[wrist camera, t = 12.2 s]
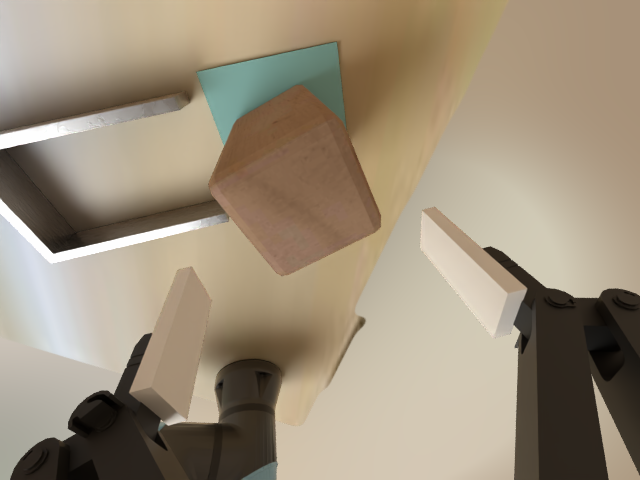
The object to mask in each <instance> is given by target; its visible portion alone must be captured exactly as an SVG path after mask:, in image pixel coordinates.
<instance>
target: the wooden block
mask: <svg viewBox="0 0 640 480" xmlns="http://www.w3.org/2000/svg"><path fill="white" fill-rule="evenodd" d="M208 185H209V188H210V191H211V194H212V196H213V197H214V198H215V199H216V200H217V202H218V203H219V204H220V205H221V206H222V208H223V209H224V210H225V211H226V213H227V214H228V215H229V216H230V217H231V219H232V220H233V221H234V222H235V223H236V225H237V226H238V227H239V228H240V229H241V231H242V232H243V233H244V234H245V236H246V237H247V238H248V239H249V240H250V242H251V243H252V244H253V245H254V246H255V248H256V249H257V250H258V251H259V252H260V254H261V255H262V256H263V257H264V258H265V260H266V261H267V262H268V263H269V265H270V266H271V267H272V268H273V269H274V271H275V272H276V273H277V274H279V275H281V276H284V275H289V274H291V273H293V272H295V271H297V270H299V269H301V268H303V267H305V266H307V265H309V264H311V263H313V262H316V261H318V260H320V259H322V258H324V257H326V256H328V255H330V254H332V253H334V252H336V251H338V250H340V249H342V248H344V247H346V246H348V245H350V244H352V243H354V242H356V241H358V240H360V239H362V238H364V237H367V236H369V235H371V234H373V233H375V232H376V231H377V230H378V229H379V228H380V227H381V215H380V212H379V210H378V207H377V205H376V202H375V200H374V197H373V195H372V192H371V190H370V187H369V185H368V183H367V180H366V178H365V175H364V173H363V170H362V168H361V165H360V163H359V160H358V158H357V155H356V153H355V150H354V148H353V146H352V143H351V141H350V138H349V136H348V133H347V131H346V128H345V126H344V123H343V121H342V120H341V119H340V118H339V117H338V116H337V115H336V114H335V113H333V112H332V111H331V110H330V109H329V108H328V107H327V106H326V105H324V104H323V103H322V102H321V101H320V100H319V99H318V98H317V97H315V96H314V95H313V94H312V93H311V92H310V91H309V90H308V89H307V88H305V87H304V86H303V85H295V86H293V87H291V88H290V89H288V90H286V91H285V92H283V93H281V94H279V95H278V96H276V97H274V98H273V99H271V100H269V101H268V102H266V103H264V104H262V105H261V106H259V107H257V108H256V109H254V110H252V111H251V112H249V113H247V114H245V115H244V116H242V117H240V118H239V119H237V120H236V121H235V123H234V124H233V126H232V129H231V131H230V134H229V136H228V138H227V141H226V143H225V145H224V148H223V150H222V153H221V155H220V157H219V160H218V162H217V164H216V167H215V169H214V172H213V174H212V176H211V179H210V181H209V183H208Z"/></svg>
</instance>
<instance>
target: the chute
mask: <svg viewBox="0 0 640 480" xmlns="http://www.w3.org/2000/svg"><path fill="white" fill-rule="evenodd" d="M189 103H190V101H189V98H188V96H187V93H186V91H184V92H179V93H175V94H170V95H165V96H161V97H156V98H152V99H147V100H142V101H138V102H133V103H129V104H124V105H119V106H115V107H110V108H106V109H101V110H96V111H92V112H87V113H83V114H78V115H73V116H69V117H64V118H60V119H55V120H50V121H46V122H41V123H37V124H32V125H27V126H23V127H18V128H14V129H9V130H4V131H0V213H1V214H2V215H3V216H4V217H5V218H6V219H7V220H8V221H9V222H10V223H11V224H12V225H13V226H14V227H15V228H16V229H17V230H18V231H19V232H20V233H21V234H22V235H23V236H24V237H25V238H26V239H27V240H28V241H29V242H30V243H31V244H32V245H33V246H34V247H35V248H36V249H37V250H38V251H39V252H40V253H41V254H42V255H43V256H44V257H45V258H46V259H47V260H48V261H49V262H50V263H55V262H59V261H63V260H68V259H72V258H76V257H80V256H85V255H89V254H93V253H97V252H101V251H106V250H110V249H114V248H118V247H123V246H127V245H131V244H135V243H140V242H144V241H148V240H152V239H157V238H161V237H165V236H169V235H174V234H178V233H182V232H186V231H191V230H195V229H199V228H203V227H208V226H212V225H216V224H220V223H225V222H228V221H229V215H228V214H227V213H226V211H225V210H224V209H223V208H222V206H221V205H220V204H219V203H218V202H217V200H214V201H210V202H206V203H201V204H197V205H193V206H188V207H184V208H180V209H175V210H171V211H167V212H163V213H158V214H154V215H150V216H145V217H141V218H137V219H132V220H128V221H124V222H119V223H115V224H111V225H107V226H102V227H98V228H94V229H89V230H85V231H81V232H76V233H75V232H74V230H73V229H72V228H71V227H70V226H69V224H68V223H67V222H66V221H65V220H64V219H63V217H62V216H61V215H60V214H59V213H58V212H57V210H56V209H55V208H54V207H53V206H52V205H51V203H50V202H49V201H48V200H47V199H46V197H45V196H44V195H43V194H42V193H41V192H40V190H39V189H38V188H37V187H36V186H35V185H34V183H33V182H32V181H31V180H30V179H29V178H28V176H27V175H26V174H25V173H24V172H23V170H22V169H21V168H20V167H19V166H18V165H17V163H16V162H15V161H14V160H13V159H12V158H11V156H10V155H9V154H8V153H7V152H6V151H5V149H4V148H9V147H13V146H18V145H22V144H27V143H31V142H36V141H41V140H45V139H50V138H54V137H59V136H63V135H68V134H72V133H77V132H81V131H86V130H91V129H95V128H100V127H104V126H109V125H113V124H118V123H122V122H127V121H132V120H136V119H141V118H145V117H150V116H154V115H159V114H163V113H168V112H173V111H177V110H180V109H182V108H183V107H185V106H186V105H187V104H189Z"/></svg>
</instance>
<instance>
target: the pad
mask: <svg viewBox="0 0 640 480" xmlns="http://www.w3.org/2000/svg"><path fill="white" fill-rule="evenodd" d="M196 73H197V75H198V78H199V81H200V83H201V86H202V89H203V91H204V94H205V97H206V99H207V102H208V104H209V107H210V110H211V112H212V115H213V118H214V120H215V123H216V126H217V128H218V131H219V134H220V136H221V139H222V142H223V144H224V145H225V143H226V141H227V138H228V136H229V134H230V131H231V129H232V126H233V124H234V123H235V121H236V120H237V119H239V118H240V117H242V116H244V115H245V114H247V113H249V112H251V111H252V110H254V109H256V108H257V107H259V106H261V105H262V104H264V103H266V102H268V101H269V100H271V99H273V98H274V97H276V96H278V95H279V94H281V93H283V92H285V91H286V90H288V89H290V88H291V87H293V86H295V85H303V86H304V87H305V88H307V89H308V90H309V91H310V92H311V93H312V94H313V95H314V96H315V97H317V98H318V99H319V100H320V101H321V102H322V103H323V104H324V105H326V106H327V107H328V108H329V109H330V110H331V111H332V112H333V113H335V114H336V115H337V116H338V117H339V118H340V119H341V120H342V121H343V123H344V126H345V128H346V120H345V111H344V102H343V93H342V84H341V75H340V66H339V57H338V48H337V42H333V43H329V44H324V45H319V46H315V47H310V48H305V49H301V50H296V51H291V52H287V53H282V54H277V55H273V56H268V57H263V58H259V59H254V60H250V61H245V62H240V63H236V64H231V65H226V66H222V67H217V68H212V69H208V70H203V71H198V72H196ZM346 131H347V129H346Z"/></svg>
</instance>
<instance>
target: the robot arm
mask: <svg viewBox="0 0 640 480" xmlns="http://www.w3.org/2000/svg"><path fill="white" fill-rule="evenodd" d="M420 249H421V250H422V251H423V252H424V253H425V255H426V256H427V257H428V258H429V260H430V261H431V262H432V264H433V265H434V266H435V267H436V268H437V270H438V271H439V272H440V273H441V275H442V276H443V277H444V278H445V280H447V282H448V283H449V284H450V286H451V287H452V288H453V289H454V291H455V292H456V293H457V294H458V295H459V297H460V298H461V299H462V300H463V301H464V303H465V304H466V305H467V307H468V308H469V309H470V310H471V311H472V313H473V314H474V315H475V316H476V317H477V319H478V320H479V321H480V322H481V324H482V325H483V326H484V327H485V329H486V330H487V331H488V332H489V334H490V335H491V336H492V337H493V338H496V337H500V336H504V335H508V334H511V331H512V328H513V325H515V327H516V328H517V329H518V330H519V331H520V335H519V337H518V340H517V342H516V345H515V348H519V349H518V350H519V351H518V380H517V410H516V412H517V413H516V443H515V474H514V480H609V479H608V473H607V467H606V461H605V455H604V449H603V443H602V437H601V431H600V424H599V418H598V412H597V406H596V400H595V394H594V388H593V381H592V376H593V378H594V381H595V382H596V385H597V387H598V389H599V391H600V393H601V395H602V397H603V399H604V401H605V404H606V405H607V408H608V410H609V412H610V414H611V416H612V418H613V420H614V422H615V424H616V427H617V429H618V431H619V432H620V435H621V437H622V439H623V441H624V443H625V445H626V448H627V450H628V451H629V454H630V456H631V458H632V460H633V462H634V464H635V466H636V468H637V471H638V472H639V475H640V296H639V295H637V294H636V293H632V292H630V291H627V290H622V289H607V290H604V291H603V292H602V293H601V295H600V297H599V298H574V297H573V296H571V295H569V294H568V293H566V292H563V291H560V290H557V289H550V288H546V287H544V286H543V285H542V284H541V283H540V282H538V281H537V280H536V279H535V278H533V277H532V276H531V275H530V274H528V273H527V272H526V271H525V270H524V269H523V268H521V267H520V266H518V264H516V263H515V262H514V261H513V260H511V259H510V258H509V257H508V256H507V255H505V254H504V253H503V252H502V251H499V250H497V249H495V248H492V247H486V248H481V247H480V246H479V245H477V244H476V243H475V242H474V241H473V240H472V239H471V238H470V237H468V236H467V235H466V234H465V233H464V232H463V231H461V229H459V228H458V227H457V226H456V225H455V224H453V222H451V221H450V220H449V219H448V218H447V217H446V216H445V215H443V214H442V213H441V212H440V211H439V210H438V209H437V208H436V207H433V208H428V209H425V210H422V219H421V240H420ZM211 302H212V300H211V298H210V297H209V295H208V293H207V291H206V290H205V288H204V286H203V285H202V283H201V281H200V280H199V278H198V276H197V275H196V273H195V271H194V270H193V268H192V267H187V268H183V269H179V270H177V273H176V275H175V278H174V281H173V283H172V286H171V288H170V291H169V293H168V296H167V298H166V301H165V303H164V306H163V308H162V311H161V313H160V316H159V318H158V321H157V323H156V326H155V328H154V331H153V333H150V334H146V335H144V336H143V337H142V338H141V339H140V341H139V342H138V343H137V344H136V346H135V348H134V350H133V352H132V355H131V359H129V361H128V364H127V368H125V370H124V373H123V375H122V377H121V380H120V382H119V384H118V387H117V389H116V391H115V393H114V395H113V394H111V393H110V392H109V391H99V392H96V393H94V394H92V395H90V396H89V397H87V398H86V399H85V400H84V401H83V402H82V403H80V404H79V405H78V406H77V408H76V409H75V410H74V412H73V413H72V415H71V417H70V419H69V421H68V429H69V430H71V431H73V432H75V433H76V434H75V435H73V436H71V437H70V438H68V439H66V440H64V441H60V440H58V439H56V438H47V439H45V440H43V441H41V442H39V443H37V444H36V445H35V446H34V447H32V448H31V449H30V450H29V451H28V452H27V453H26V454H25V455H24V456H23V457H22V458H21V459H20V461H19V462H18V464H17V465H16V467H15V468H14V471H13V473H12V476H11V478H10V480H276V469H277V465H278V464H277V457H276V431H275V407H276V403H277V399H278V396H279V392H280V388H281V372H280V370H279V368H278V367H277V366H276V365H274V364H272V363H270V362H267V361H262V360H244V361H239V362H235V363H232V364H230V365H228V366H226V367H224V368H223V369H222V370H221V371H220V372H219V373H218V374H217V376H216V381H215V395H216V400H217V405H218V410H219V422H218V423H196V422H184V421H187V418H188V412H189V408H190V403H191V398H192V394H193V389H194V384H195V379H196V374H197V370H198V365H199V360H200V355H201V350H202V346H203V341H204V336H205V331H206V326H207V322H208V317H209V312H210V307H211ZM518 346H519V347H518ZM591 374H592V375H591ZM160 420H162V421H163V422H160Z"/></svg>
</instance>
